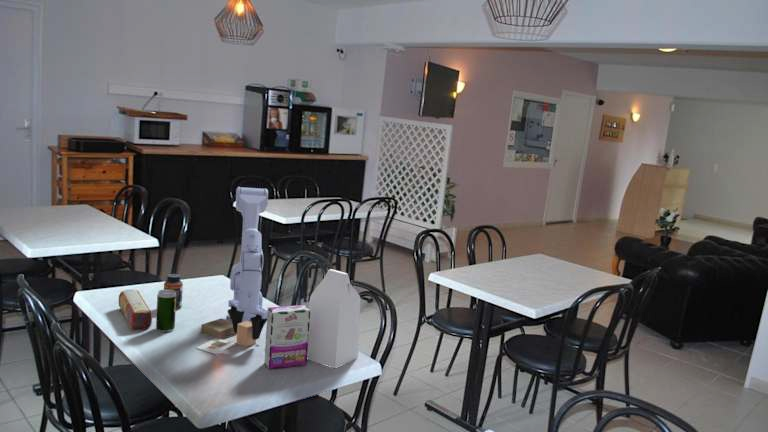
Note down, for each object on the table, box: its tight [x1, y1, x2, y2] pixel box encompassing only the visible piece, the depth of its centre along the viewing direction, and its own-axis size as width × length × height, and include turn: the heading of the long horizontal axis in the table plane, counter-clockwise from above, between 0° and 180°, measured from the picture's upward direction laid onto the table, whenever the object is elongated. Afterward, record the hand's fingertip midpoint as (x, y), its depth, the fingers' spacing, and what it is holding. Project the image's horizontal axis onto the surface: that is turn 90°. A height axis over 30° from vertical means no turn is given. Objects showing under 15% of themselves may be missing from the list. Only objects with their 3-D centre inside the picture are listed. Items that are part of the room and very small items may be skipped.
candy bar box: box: [264, 304, 310, 370], centre depth 169 cm, size 11×5×16 cm, turn 117°
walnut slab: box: [200, 318, 237, 340], centre depth 187 cm, size 8×8×3 cm
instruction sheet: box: [195, 338, 237, 355], centre depth 177 cm, size 9×7×1 cm
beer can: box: [155, 288, 176, 333], centre depth 184 cm, size 5×5×12 cm
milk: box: [307, 268, 361, 369], centre depth 176 cm, size 12×12×26 cm
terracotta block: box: [235, 321, 257, 348], centre depth 181 cm, size 4×4×6 cm
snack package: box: [118, 288, 153, 331], centre depth 191 cm, size 21×7×7 cm, turn 32°
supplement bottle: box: [163, 273, 184, 311], centre depth 203 cm, size 6×6×11 cm
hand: (246, 335), depth 181 cm, fingers open, 7 cm apart
